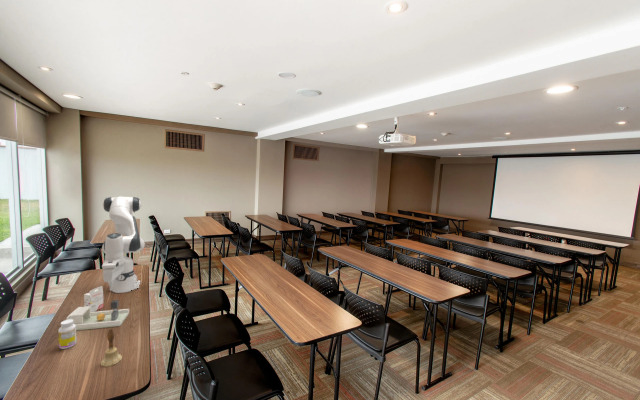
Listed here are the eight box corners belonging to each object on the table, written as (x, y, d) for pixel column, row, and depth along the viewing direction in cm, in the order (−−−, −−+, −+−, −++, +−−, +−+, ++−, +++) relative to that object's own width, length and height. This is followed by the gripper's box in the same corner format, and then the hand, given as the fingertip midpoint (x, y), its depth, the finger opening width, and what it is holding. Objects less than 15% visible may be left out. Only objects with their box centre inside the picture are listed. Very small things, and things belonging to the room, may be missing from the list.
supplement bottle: (62, 342, 141) (61, 319, 140) (78, 340, 143) (78, 317, 142) (56, 350, 135) (55, 326, 133) (73, 348, 137) (72, 323, 136)
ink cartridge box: (97, 306, 179) (97, 284, 178) (103, 307, 178) (103, 285, 177) (83, 312, 171) (83, 289, 169) (90, 313, 170) (89, 290, 169)
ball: (98, 318, 163) (98, 312, 162) (106, 317, 164) (106, 311, 164) (95, 322, 159) (95, 315, 159) (103, 321, 160) (103, 314, 160)
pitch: (78, 317, 164) (78, 305, 164) (129, 313, 172) (128, 301, 172) (64, 331, 150) (64, 318, 149) (120, 325, 158) (119, 313, 158)
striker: (113, 316, 166) (113, 299, 165) (119, 315, 167) (119, 299, 166) (110, 320, 161) (110, 303, 160) (116, 320, 162) (116, 302, 161)
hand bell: (97, 368, 124) (97, 335, 123) (103, 357, 132) (103, 325, 131) (119, 364, 128) (119, 332, 126) (124, 353, 135) (124, 323, 134)
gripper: (115, 256, 170) (115, 277, 171) (100, 266, 150) (100, 291, 151) (127, 255, 172) (127, 277, 173) (114, 266, 152) (114, 290, 153)
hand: (114, 283), depth 162 cm, fingers open, 8 cm apart
